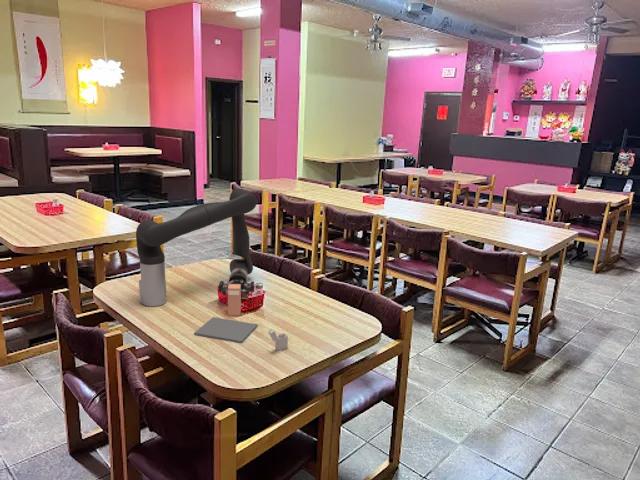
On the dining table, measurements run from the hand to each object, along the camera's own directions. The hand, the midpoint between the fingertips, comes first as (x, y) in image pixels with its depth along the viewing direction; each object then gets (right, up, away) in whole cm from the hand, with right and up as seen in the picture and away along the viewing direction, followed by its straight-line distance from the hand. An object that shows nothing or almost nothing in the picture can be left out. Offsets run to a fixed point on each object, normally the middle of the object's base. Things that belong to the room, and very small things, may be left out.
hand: (235, 293), depth 190 cm
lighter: (+19, -16, -29) cm, 38 cm away
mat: (0, -11, -17) cm, 21 cm away
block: (0, -7, -2) cm, 8 cm away
